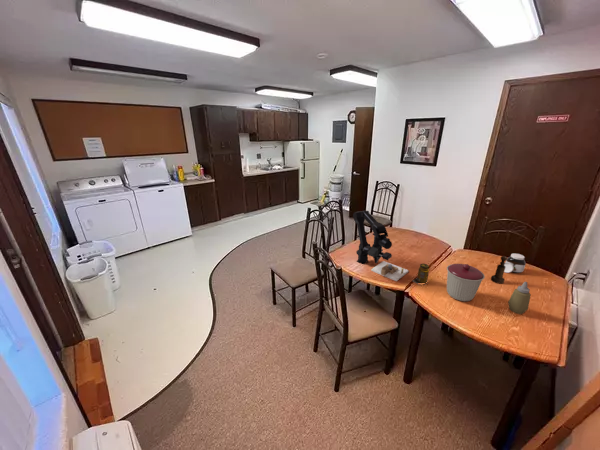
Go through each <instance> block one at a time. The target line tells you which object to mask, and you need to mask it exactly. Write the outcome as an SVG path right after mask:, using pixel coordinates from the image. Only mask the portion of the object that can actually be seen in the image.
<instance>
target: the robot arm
mask: <svg viewBox="0 0 600 450" xmlns="http://www.w3.org/2000/svg"><path fill="white" fill-rule="evenodd" d="M352 218H353V221H354V222H355V224H356V226H357V233H358V239H359V245H358V249H357V250H356V255H357V256H358V257H357V260H356V262H357V263H359V264H362V265H366V264H367V263H368V262H369V257H372V258H373V260H374V264H377V263H378V262H379V260H380V259H381V258H382V259H383V260H386V261H387V260H389V259H392V257H393V254H392V253H391V252H388V251H385V252H383V251H384V250H383V248H384V249H385V250H389V249H391V247H392V246H393V243H392V241H391V239H390V238H388V237H389V234H388V231H387V228H386V226H385V225H384V224H383V223H381V222H378V221H377V220H376V218H375V217H373V215H372V214H371V213H370V211H369V210H362V211H361V210H360V211H354V212H353V214H352ZM365 221H366V222H367V223H368V224H369V225H370V226H371V230H372V236H374V237H373V244H372V245H371V244H370V243H369V242H368V240H367V234H366V229H365V224H364V222H365ZM368 256H369V257H368ZM377 265H378V264H377Z"/></svg>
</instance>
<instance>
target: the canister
mask: <svg viewBox="0 0 600 450" xmlns="http://www.w3.org/2000/svg"><path fill="white" fill-rule="evenodd" d="M446 270H447V274H446V275H447V276H446V277H447V278H446V292H447V294H448V295H449V296H450V297H451V298H453V299H455V300H456V301H460V302H470V301H472V300H473V299H474V298H475V296H476V294H477V293H478V290H479V288H480V285H481V284H482V282H483V280H484V279H485V277H486V276H485V274H484V273H483V272H482V271H481V270H479V269H478V268H477V267H475V266H472V265H470V264H467V263H464V264H463V263H452V264H449V265H447V266H446Z"/></svg>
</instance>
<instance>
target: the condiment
mask: <svg viewBox="0 0 600 450" xmlns="http://www.w3.org/2000/svg"><path fill="white" fill-rule="evenodd" d="M429 269H430V265H428V264H426V263H420V264H419V267H418V269H417V276H416V278H415V279H412V280H411V281H412V282H413V283H414V284H417V285H419V284H418V283H426V282H427V281H428V277H429V273H430V270H429Z"/></svg>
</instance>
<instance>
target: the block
mask: <svg viewBox="0 0 600 450" xmlns="http://www.w3.org/2000/svg"><path fill="white" fill-rule="evenodd" d="M388 265H389V264H387V265H386V266H384V267H383V268H382V270H381V275H380V276H383V275H386V274H387V273H388V272H389V273H392V274H393V273H394V272H395V271H397V270H398V268H397V267H394V266H392V270H390V269H389V268H388Z"/></svg>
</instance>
